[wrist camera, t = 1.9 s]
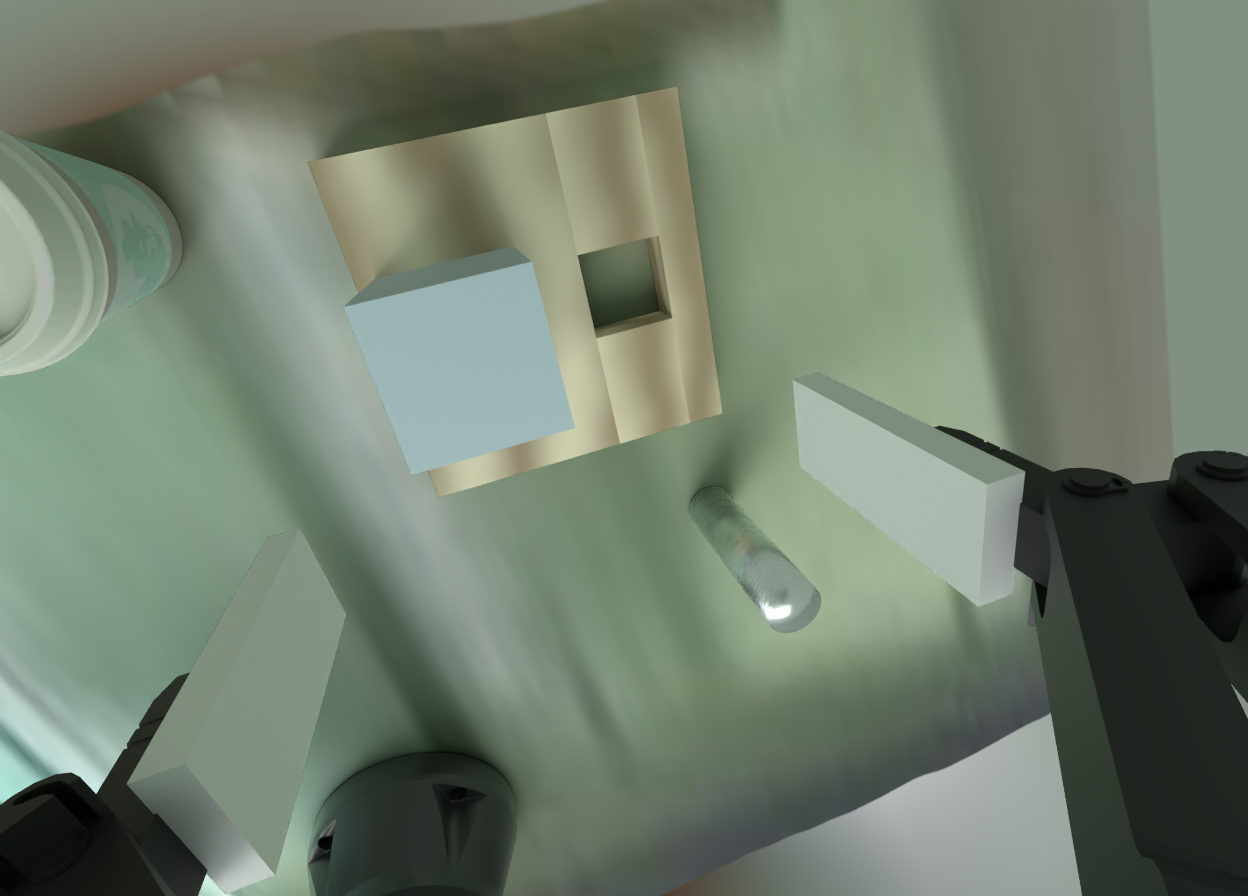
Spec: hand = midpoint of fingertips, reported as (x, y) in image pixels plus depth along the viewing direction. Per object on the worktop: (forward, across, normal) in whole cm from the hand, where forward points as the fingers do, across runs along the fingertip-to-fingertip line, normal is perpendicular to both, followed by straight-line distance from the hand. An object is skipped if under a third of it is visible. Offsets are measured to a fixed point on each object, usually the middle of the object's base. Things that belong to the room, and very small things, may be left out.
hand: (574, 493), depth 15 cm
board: (+21, +2, +1) cm, 21 cm away
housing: (+19, -2, +1) cm, 19 cm away
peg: (+21, +10, -16) cm, 28 cm away
